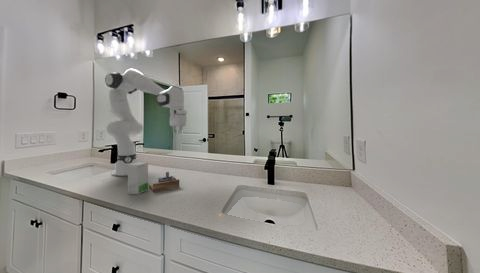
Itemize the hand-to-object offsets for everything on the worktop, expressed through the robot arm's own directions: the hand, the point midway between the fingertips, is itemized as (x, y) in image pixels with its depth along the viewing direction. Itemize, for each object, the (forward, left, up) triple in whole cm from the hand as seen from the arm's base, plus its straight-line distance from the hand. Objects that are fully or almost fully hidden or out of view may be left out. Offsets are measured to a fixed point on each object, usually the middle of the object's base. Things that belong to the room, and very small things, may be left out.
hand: (177, 133), depth 116 cm
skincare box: (+7, -24, -31) cm, 40 cm away
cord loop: (+8, -9, -30) cm, 32 cm away
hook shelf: (+8, -11, -31) cm, 34 cm away
